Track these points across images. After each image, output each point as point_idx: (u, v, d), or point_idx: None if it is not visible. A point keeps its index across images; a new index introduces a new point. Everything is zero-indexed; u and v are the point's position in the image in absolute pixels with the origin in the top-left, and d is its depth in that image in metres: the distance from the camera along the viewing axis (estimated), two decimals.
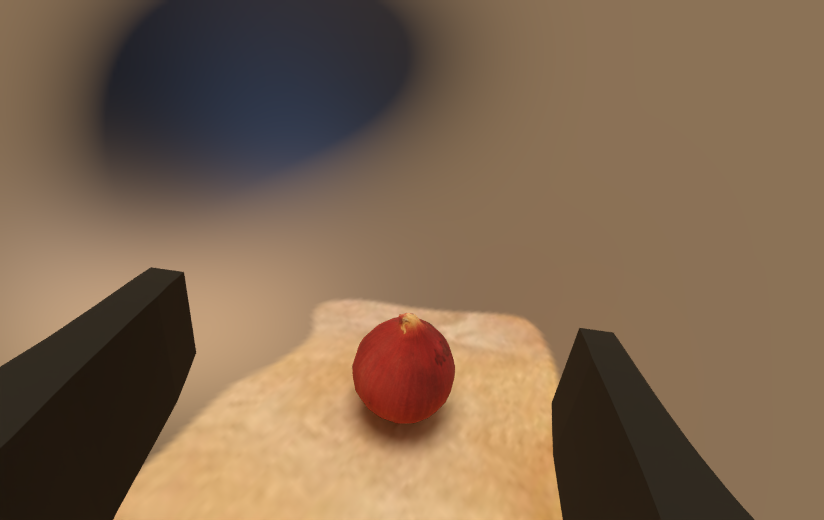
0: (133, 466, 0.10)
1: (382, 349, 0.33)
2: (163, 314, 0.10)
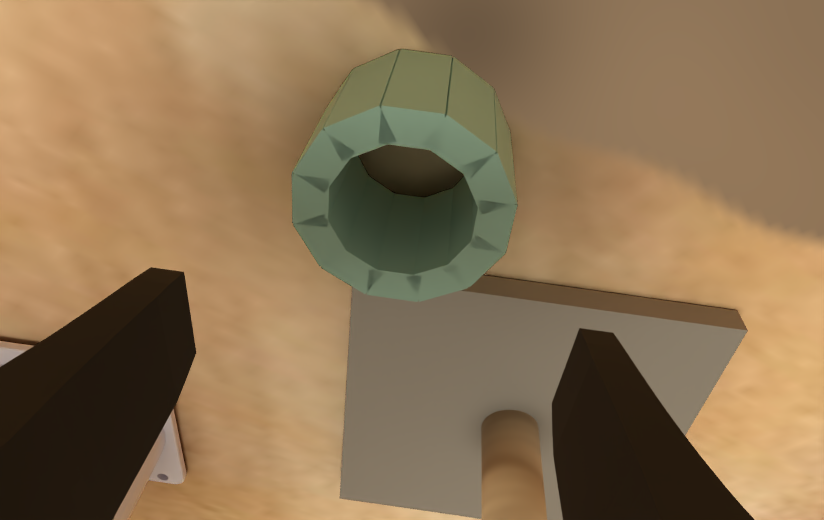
0: (133, 466, 0.10)
1: None
2: (163, 314, 0.10)
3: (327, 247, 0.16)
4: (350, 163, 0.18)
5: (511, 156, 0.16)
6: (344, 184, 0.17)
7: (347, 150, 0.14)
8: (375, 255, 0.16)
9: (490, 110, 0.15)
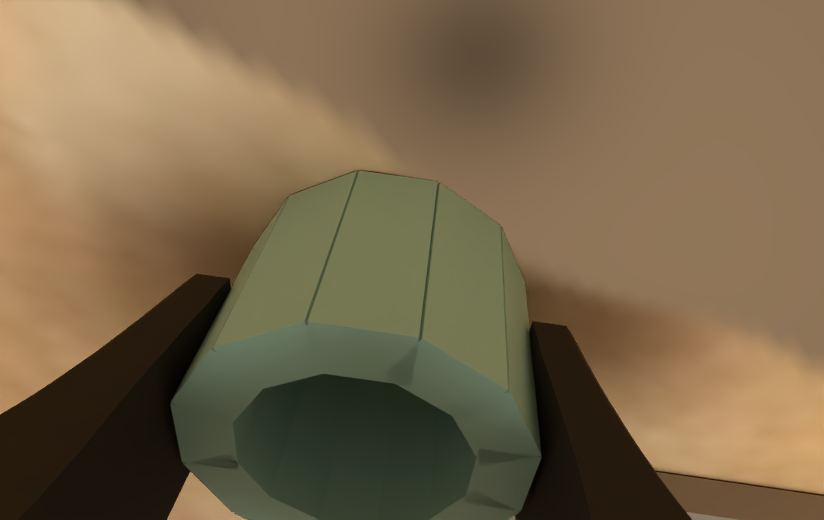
0: (182, 473, 0.10)
1: None
2: (212, 321, 0.10)
3: (240, 491, 0.10)
4: None
5: (528, 340, 0.10)
6: None
7: (256, 378, 0.08)
8: (319, 489, 0.11)
9: (496, 283, 0.10)
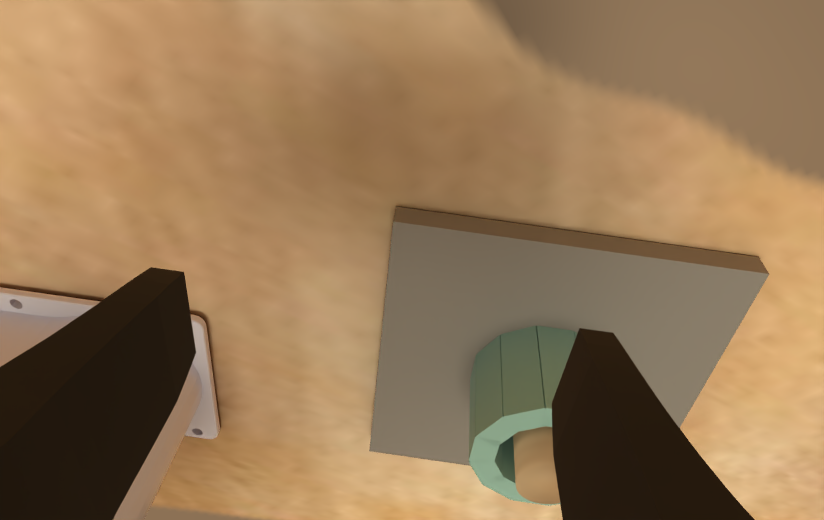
0: (133, 466, 0.10)
1: None
2: (163, 314, 0.10)
3: (490, 474, 0.22)
4: None
5: None
6: None
7: (517, 427, 0.21)
8: None
9: None
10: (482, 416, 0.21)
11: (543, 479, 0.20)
